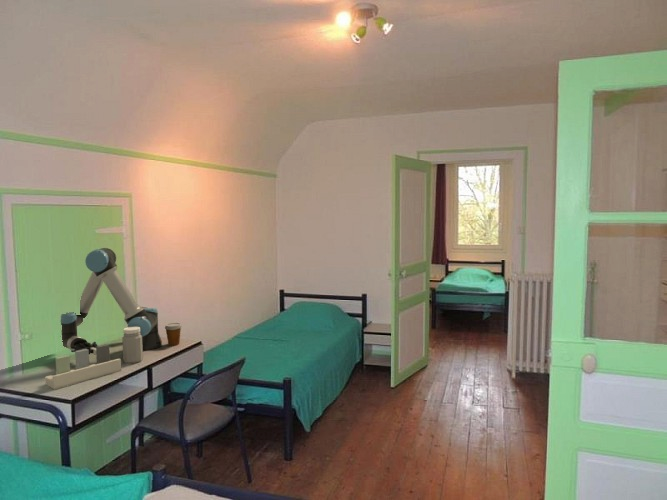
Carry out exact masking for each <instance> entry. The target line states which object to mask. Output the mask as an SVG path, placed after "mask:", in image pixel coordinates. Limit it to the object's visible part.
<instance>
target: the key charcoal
mask: <svg viewBox="0 0 667 500" xmlns="http://www.w3.org/2000/svg"><path fill="white" fill-rule="evenodd" d="M96 354H97V355H96V364H100V363H104V362H108V361H110V360H111V359H110V345H109V344H108V343H104V344H100V345H98V346H96Z"/></svg>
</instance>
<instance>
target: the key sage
mask: <svg viewBox="0 0 667 500" xmlns="http://www.w3.org/2000/svg"><path fill="white" fill-rule="evenodd" d="M70 370H71V359H70V355H68V354H64V355H62V356H56V357H55V375H58V374H62V373H66V372H69V371H70Z"/></svg>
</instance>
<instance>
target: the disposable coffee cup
mask: <svg viewBox="0 0 667 500" xmlns="http://www.w3.org/2000/svg"><path fill="white" fill-rule="evenodd" d="M164 329H165V333H166V338H167V344H168V346H172V345H173V346H178V345H180V343H181V342H180V340H181V330H182V325H181V323H180V322H171V323H166V324H165V327H164Z"/></svg>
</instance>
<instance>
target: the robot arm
mask: <svg viewBox="0 0 667 500" xmlns="http://www.w3.org/2000/svg"><path fill="white" fill-rule="evenodd" d="M84 261H85V266H86V268H87V269H88V270H89V271H91V272H92V273H91V274H90V277H89V278H88V281H87V282H86V284H85V287H84V289H83V291H82V293H81V295H82V296H81V295H80V297H81V300H80V314H81V315H76V313H74V312H73V311H71V312H70V311H69V313H68V312H65V313H66V314H63V313H62V314H61V315H60V326H61V325H62V330H61V335H62V340H63V341H62V342H63V346H64V348H65V347H66V348H65V349H69V350H70V352H71V353H75V351H78V350H82V349H88V350H89V355H91V354H92V355H95V356H97V354H96V346H99V345H98V344H97V341H93V342H92V343H91V342H88V341H87V340H86V339H85V338H82V337H80V336H79V335H78V326H80V325H82V324H83V323H82V322H83V318H85V317H86V316H87V315H88V314H89V312H90V311H91V308H92V306H93V304H94V303H95V300H96V298H97V296H98V294H99V292H100V289H101V288H102V286H103V284H105V286H106V287H107V290H109V293H110V294H111V295H112V297H113V298H114V299H113V300H115V302H116V304H117V305H118V307H119V308H120V309H121V311H122V313H123V314H124V321H125V323H126V325H127V327H140V333H141V336H142V347H143V351H147V350H148V351H149V350H155V349H158V348H161V347H162V346H163V341H162V338H161V336H160V333H159V315H158V314H159V312H158V309H157V308H156V307H146V308H141V307H142V306H140V305H139V304H138V302H137V300H136V299H135V297H134V296H133V294H132V292H131V291H130V289H129V288H128V287H127V284H126V283H125V282H124V280H123V278H122V277H121V275H120V274H119V272H118V271H117V269H118V265H117V263H116V262H117V255H116V253H115V251H114V250H112V249H111V248H108V247H103V248H102V247H101V248H99V249H98V248H97V249H94V250H92V251H90V252H89V253H88V254H87V255H86V257H85V260H84ZM81 323H82V324H81ZM63 346H62V347H63Z"/></svg>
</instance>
